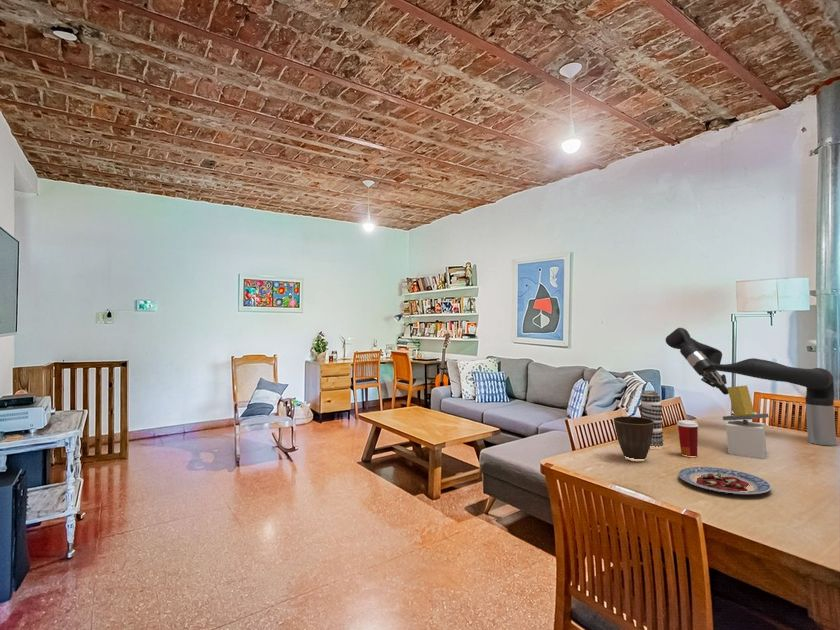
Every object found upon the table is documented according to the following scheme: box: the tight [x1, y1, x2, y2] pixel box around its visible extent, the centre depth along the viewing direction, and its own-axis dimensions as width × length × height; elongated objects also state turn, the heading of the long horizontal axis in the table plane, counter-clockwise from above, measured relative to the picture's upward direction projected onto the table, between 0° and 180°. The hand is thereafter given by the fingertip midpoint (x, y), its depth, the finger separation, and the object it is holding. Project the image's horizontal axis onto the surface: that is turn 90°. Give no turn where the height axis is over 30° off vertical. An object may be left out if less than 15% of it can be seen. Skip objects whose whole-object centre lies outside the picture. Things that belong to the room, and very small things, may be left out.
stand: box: [725, 419, 767, 460], centre depth 180 cm, size 12×12×14 cm
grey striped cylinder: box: [639, 389, 664, 447], centre depth 193 cm, size 9×9×25 cm
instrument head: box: [722, 385, 770, 421], centre depth 182 cm, size 12×10×14 cm
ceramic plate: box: [677, 466, 772, 495], centre depth 145 cm, size 26×26×3 cm
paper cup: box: [676, 419, 699, 457], centre depth 179 cm, size 8×8×14 cm
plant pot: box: [613, 416, 654, 460], centre depth 176 cm, size 15×15×16 cm
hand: (727, 393), depth 187 cm, fingers closed
